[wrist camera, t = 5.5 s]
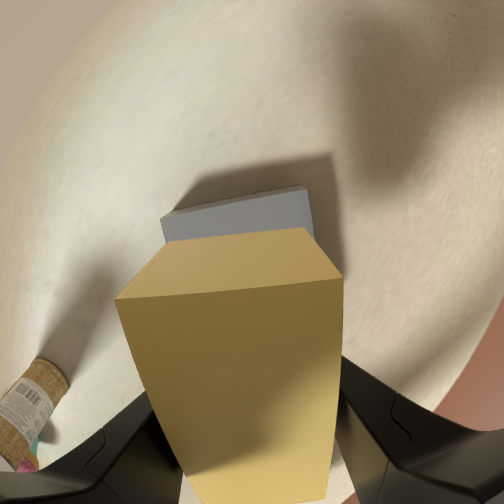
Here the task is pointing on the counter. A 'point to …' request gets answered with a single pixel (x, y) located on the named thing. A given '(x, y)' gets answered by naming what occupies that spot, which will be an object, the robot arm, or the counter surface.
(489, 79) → the counter surface
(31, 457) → the cupcake
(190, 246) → the ochre brick
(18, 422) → the sprinkles bottle
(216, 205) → the base slab
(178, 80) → the counter surface
